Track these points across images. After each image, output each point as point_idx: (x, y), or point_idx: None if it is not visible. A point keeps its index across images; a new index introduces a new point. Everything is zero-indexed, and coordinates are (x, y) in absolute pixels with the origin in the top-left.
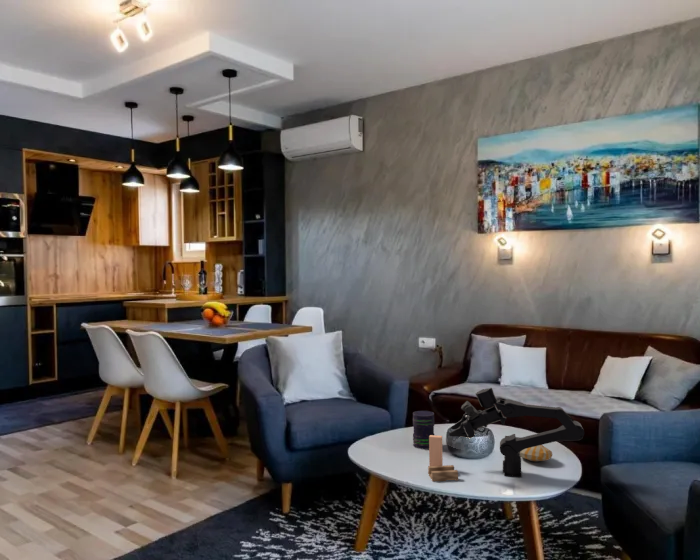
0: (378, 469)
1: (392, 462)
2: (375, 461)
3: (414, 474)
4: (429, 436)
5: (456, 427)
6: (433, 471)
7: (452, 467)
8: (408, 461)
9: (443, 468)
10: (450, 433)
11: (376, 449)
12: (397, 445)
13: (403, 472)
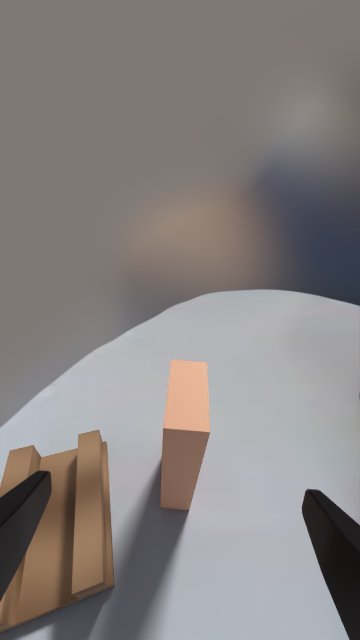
0: (146, 325)
1: (201, 345)
2: (198, 318)
3: (106, 400)
4: (178, 361)
5: (343, 586)
6: (25, 455)
7: (73, 578)
8: (221, 378)
9: (76, 510)
10: (23, 486)
11: (278, 315)
12: (339, 347)
13: (125, 371)
